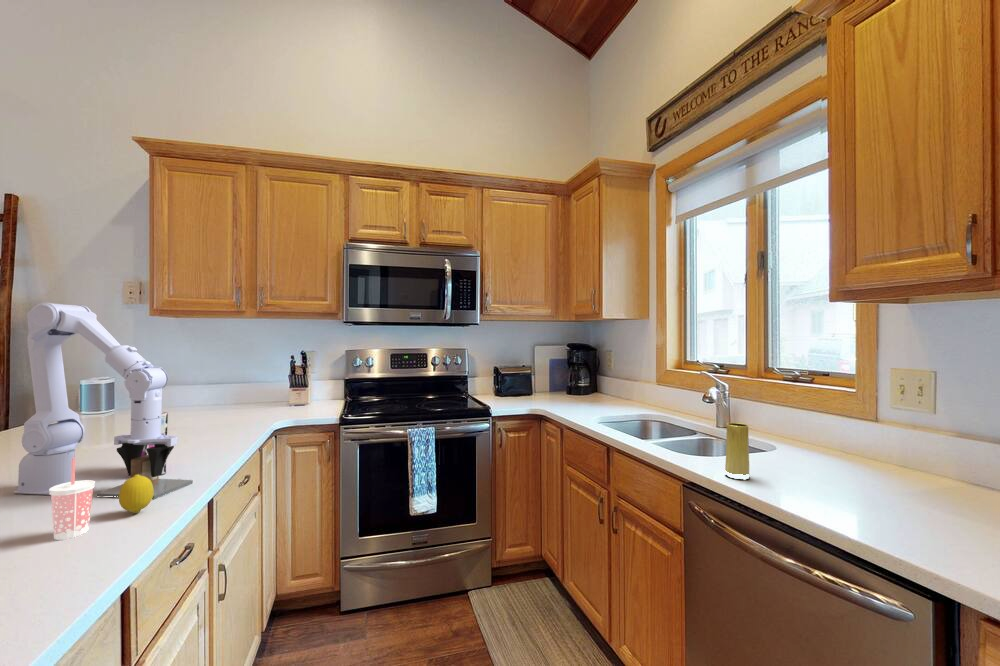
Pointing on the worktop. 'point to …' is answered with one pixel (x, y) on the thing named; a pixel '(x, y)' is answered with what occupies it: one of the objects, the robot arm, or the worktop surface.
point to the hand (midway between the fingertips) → (145, 475)
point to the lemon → (136, 493)
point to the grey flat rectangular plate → (159, 489)
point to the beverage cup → (71, 506)
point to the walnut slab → (143, 468)
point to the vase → (737, 449)
